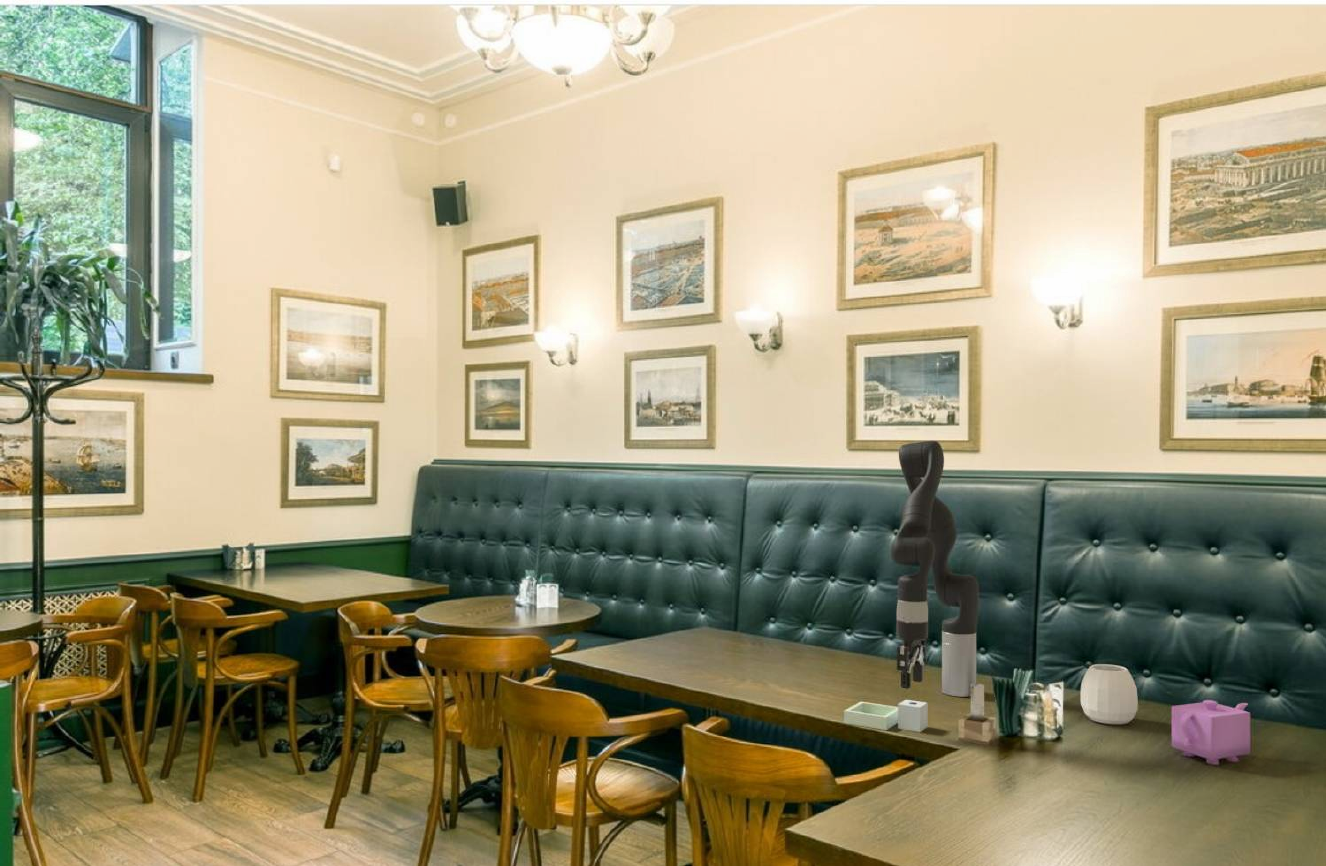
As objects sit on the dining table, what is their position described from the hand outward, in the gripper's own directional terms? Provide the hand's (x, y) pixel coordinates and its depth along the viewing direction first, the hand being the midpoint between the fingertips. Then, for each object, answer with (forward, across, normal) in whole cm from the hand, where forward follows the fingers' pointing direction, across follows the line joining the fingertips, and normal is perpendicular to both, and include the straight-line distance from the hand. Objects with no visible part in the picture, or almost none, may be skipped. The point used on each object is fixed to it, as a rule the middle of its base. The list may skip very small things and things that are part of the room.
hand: (911, 684), depth 245 cm
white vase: (+10, -34, +39) cm, 53 cm away
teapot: (+10, -17, +64) cm, 67 cm away
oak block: (+11, +1, +16) cm, 20 cm away
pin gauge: (+10, 0, +16) cm, 19 cm away
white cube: (+11, 0, 0) cm, 11 cm away
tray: (+10, 0, -10) cm, 14 cm away
